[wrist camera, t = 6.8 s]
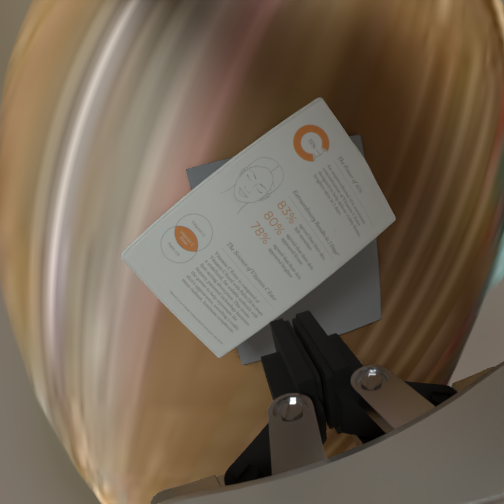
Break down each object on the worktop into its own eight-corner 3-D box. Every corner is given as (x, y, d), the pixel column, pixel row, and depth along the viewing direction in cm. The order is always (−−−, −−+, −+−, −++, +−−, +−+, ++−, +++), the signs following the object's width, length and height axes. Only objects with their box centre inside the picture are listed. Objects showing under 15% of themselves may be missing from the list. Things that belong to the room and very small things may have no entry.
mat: (186, 169, 19) (185, 169, 19) (357, 135, 20) (360, 134, 20) (241, 361, 24) (242, 364, 23) (378, 316, 25) (381, 318, 24)
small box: (215, 312, 22) (352, 206, 21) (218, 362, 16) (400, 220, 15) (142, 230, 19) (290, 115, 19) (115, 255, 13) (324, 93, 13)
